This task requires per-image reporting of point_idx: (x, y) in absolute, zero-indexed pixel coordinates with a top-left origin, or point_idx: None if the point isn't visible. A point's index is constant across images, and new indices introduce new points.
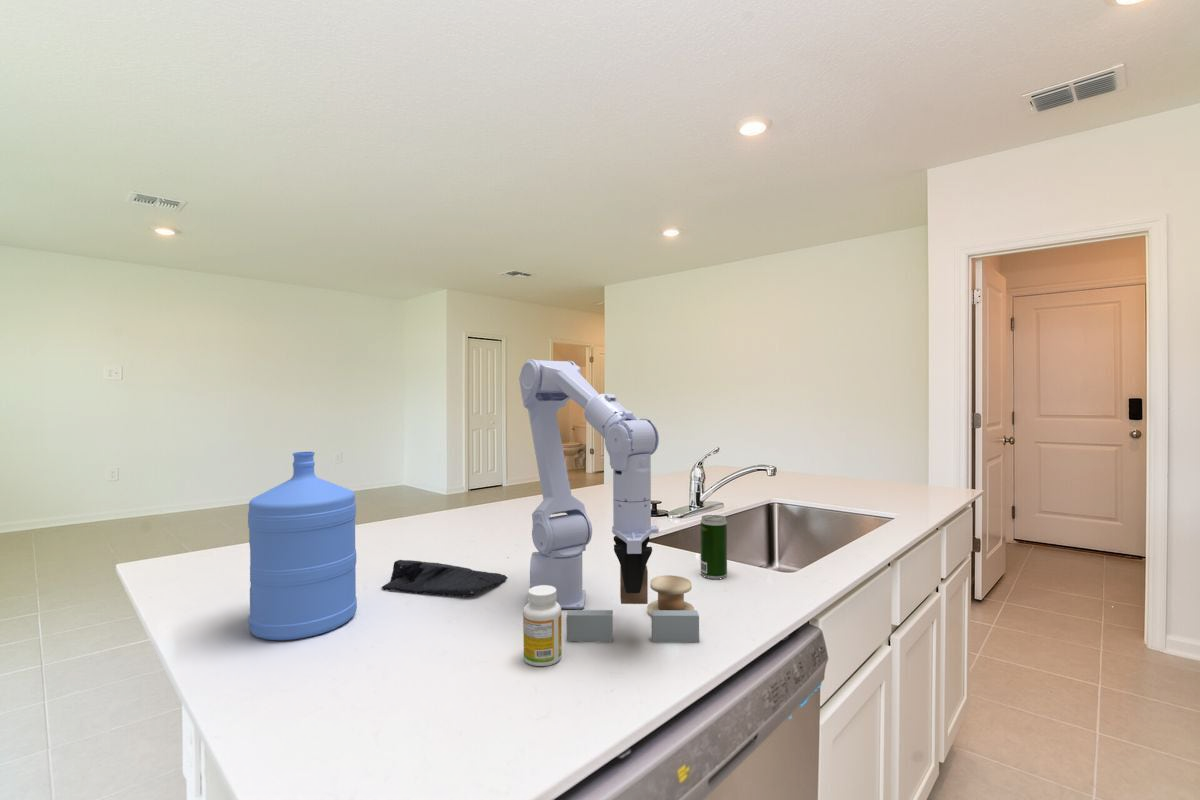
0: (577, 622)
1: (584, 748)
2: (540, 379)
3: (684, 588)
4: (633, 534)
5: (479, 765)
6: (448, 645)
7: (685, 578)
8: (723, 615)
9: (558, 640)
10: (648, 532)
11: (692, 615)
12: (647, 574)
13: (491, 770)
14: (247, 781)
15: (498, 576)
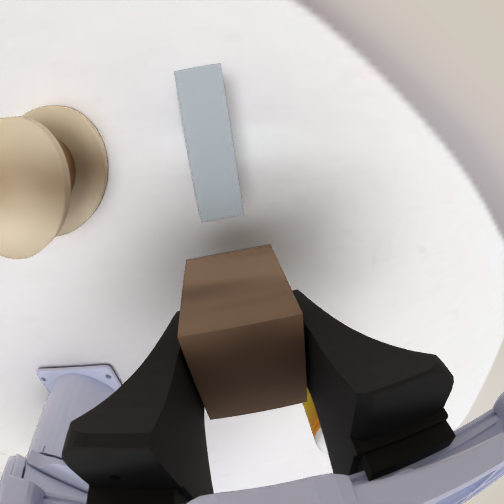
0: None
1: (501, 256)
2: None
3: (41, 132)
4: (464, 497)
5: (493, 331)
6: (291, 455)
7: None
8: (45, 36)
9: None
10: (437, 492)
11: (220, 84)
12: (297, 303)
13: (499, 320)
14: (457, 425)
15: None
